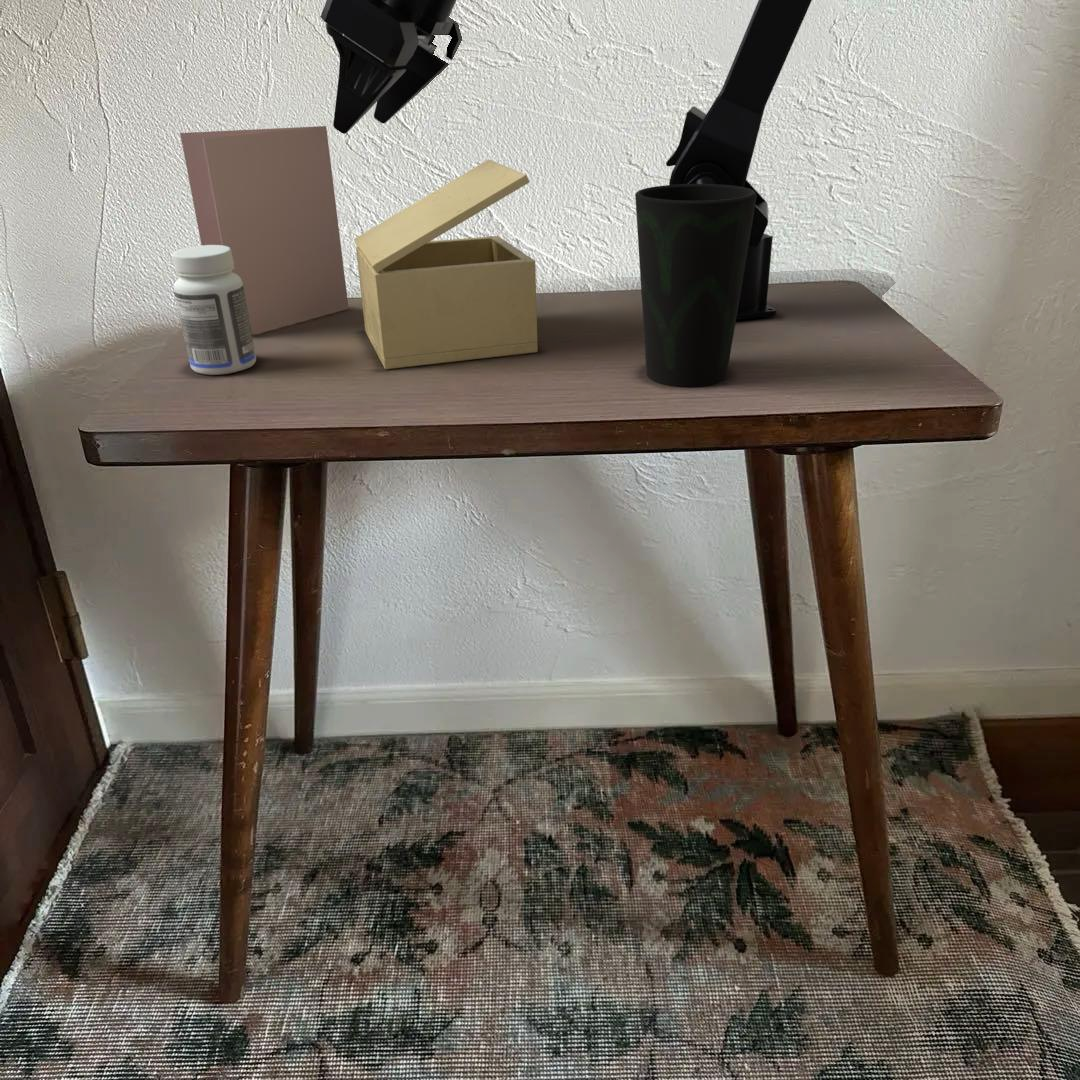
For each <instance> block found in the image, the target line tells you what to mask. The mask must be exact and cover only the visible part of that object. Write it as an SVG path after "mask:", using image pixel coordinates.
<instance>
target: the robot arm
mask: <svg viewBox="0 0 1080 1080" xmlns="http://www.w3.org/2000/svg"><path fill="white" fill-rule="evenodd" d="M457 1H458V0H326V1H325V4H324V7H323V9H322V11H321V14H320V16H319V17H320V18H321V20H322V21H323V22H324V23H325V29H326V33H327V34H328V35H329V36H330V37H331V38H332V40H333V43H334V45H335V48H336V50H337V52H338V57H339V66H338V68H339V69H338V80H337V89H336V96H335V106H334V115H333V122H332V123H333V124H332V125H333V129H334V130H336V131H338V132H339V133H341V134H342V135H345V134H347V133H348V132H350V131H351V130H352V128H353V127H354V126H356V124H357V123H359V121H361V120H362V119H363V117H364V116H365V115H366V114H367V113H368V112H369V111H370V110H371V109H372V108H373V107H374V105H375V107H374V113H373V118H374V119H375V120H376V121H378V122H379V123H380V124H386V123H388V121H390V120H391V119H392V118H394V116H395V115H396V114H397V113H398V112H400V111H401V110H402V109H403V108H404V107H405V106H407V104H408V103H409V102H411V101H412V100H413V99H414V98H415V97H416V96H417V95H419V94H420V93H421V92H422V91H423V90H425V88H426V87H428V86H429V85H430V84H431V83H432V82H433V81H434V80H433V79H434V78H435V77H436V76H437V75H439V74H440V73H441V72H442V71H443V70H444V69H445V68H446V67H447V66H448V65H449V64H448V63H446V62H445V61H443V60H441V59H440V58H438V57H437V56H435V55H433V54H434V51H435V49H436V47H437V46H436V45H434V44H433V43H432V42H433V40H434V38H435V36H434V35H450V36H451V37H452V39H451V41H450V43H449V45H448V47H447V51H446V53H445V58H447V59H448V60H450V61H453V60H452V59H453V57H454V55H455V53H456V51H457V49H458V47H459V45H460V43H461V41H462V36H461V33H460V29H459V25H458V23H457V22H456V21H454V20H453V19H451V18H450V17H449V16H450V14H452V11H453V9H454V7H455V5H456V3H457ZM812 1H813V0H758V1H757V3H756V6H755V7H754V11H753V13H752V16H751V18H750V20H749V23H748V25H747V28H746V30H745V32H744V35H743V37H742V40H741V42H740V44H739V47H738V50H737V52H736V53H735V56H734V59H733V61H732V64H731V66H730V67H729V68H730V69H729V71H728V73H727V76H726V78H725V81H724V83H723V86H722V88H721V90H720V91H719V92H718V94H717V96H716V98H715V99H714V101H713V103H712V104H711V106H710V107H709V109H708V111H707V112H706V113H705V112H704V111H702V110H701V109H700V108H698V107H696V106H691V108H690V109H688V111H687V112H686V115H685V118H684V122H683V128H682V131H681V136H680V139H679V143H678V145H677V147H676V149H675V151H673V152H672V154H671V155H670V157H668V160H667V161H666V162H665V166H666V167H673V169H672V171H671V173H670V177H669V182H668V185H678V184H718V185H731V186H739V187H745V188H749V189H752V190H754V191H755V193H756V194H757V197H756V203H755V209H754V215H753V221H752V227H751V233H750V239H749V245H748V251H747V257H746V263H745V269H744V275H743V281H742V287H741V293H740V299H739V305H738V311H737V317H736V321H737V320H748V319H756V318H764V317H765V318H766V317H774V316H777V309H776V308H774V307H772V306H770V305H769V304H768V294H769V293H768V292H769V285H770V284H769V283H770V271H771V261H772V252H773V251H772V250H773V239H774V236H773V235H770V234H767V233H766V229H767V227H768V225H769V204H768V202H767V201H766V199H765V198H764V197H763V196H762V195H761V194H760V192H758V191H757V189H755V187H754V186H753V185H752V184H751V183H750V182H749V181H748V179H747V177H748V176H749V175H748V174H749V170H750V167H751V163H752V159H753V155H754V151H755V147H756V144H757V139H758V135H759V131H760V128H761V124H762V120H763V116H764V112H765V108H766V105H767V103H768V101H769V99H770V97H771V94H772V92H773V90H774V88H775V85H776V83H777V81H778V79H779V76H780V74H781V72H782V70H783V68H784V65H785V62H786V61H787V58H788V55H789V54H790V51H791V49H792V46H793V44H794V42H795V40H796V38H797V35H798V33H799V31H800V29H801V26H802V24H803V22H804V19H805V17H806V15H807V12H808V10H809V8H810V6H811V3H812ZM440 75H441V74H440ZM440 75H439V76H440ZM432 80H433V81H432ZM431 81H432V82H431ZM430 82H431V83H430ZM429 83H430V84H429ZM428 84H429V85H428ZM427 85H428V86H427ZM422 89H423V90H422ZM421 90H422V91H421ZM420 91H421V92H420ZM419 92H420V93H419ZM418 93H419V94H418ZM411 99H412V100H411ZM410 100H411V101H410Z"/></svg>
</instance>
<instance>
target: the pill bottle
mask: <svg viewBox="0 0 1080 1080" xmlns="http://www.w3.org/2000/svg"><path fill="white" fill-rule="evenodd" d="M171 256H172V262H173V269H174V271H175V274H176V276H178V277H179V278H177V280H176V281H175V282H174V284H173V293H174V298H175V301H176V307H177V311H178V316H179V320H180V324H181V325H180V326H181V330H182V334H183V337H184V338H183V339H184V342H185V343H184V344H185V349H186V353H187V357H188V362H189V365H190V368H191V370H192V371H194V372H195V373H198V374H201V375H207V376H220V375H228V374H229V375H230V374H233V373H237V372H242V371H244V370H247V369H249V368H252V367H254V365H255V363H256V362H257V354H256V350H255V343H254V337H253V335H252V331H251V325H250V320H249V315H248V310H247V304H246V299H245V293H244V287H243V283H242V280H241V278H240V277H239V276H238V275H237V274H235V273H233V272H232V270H233V269H234V262H233V257H232V252H231V249H230V248H229V247H227V246H222V245H193V246H188V247H184V248H179V249H177V250H175V251H172V254H171Z"/></svg>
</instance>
